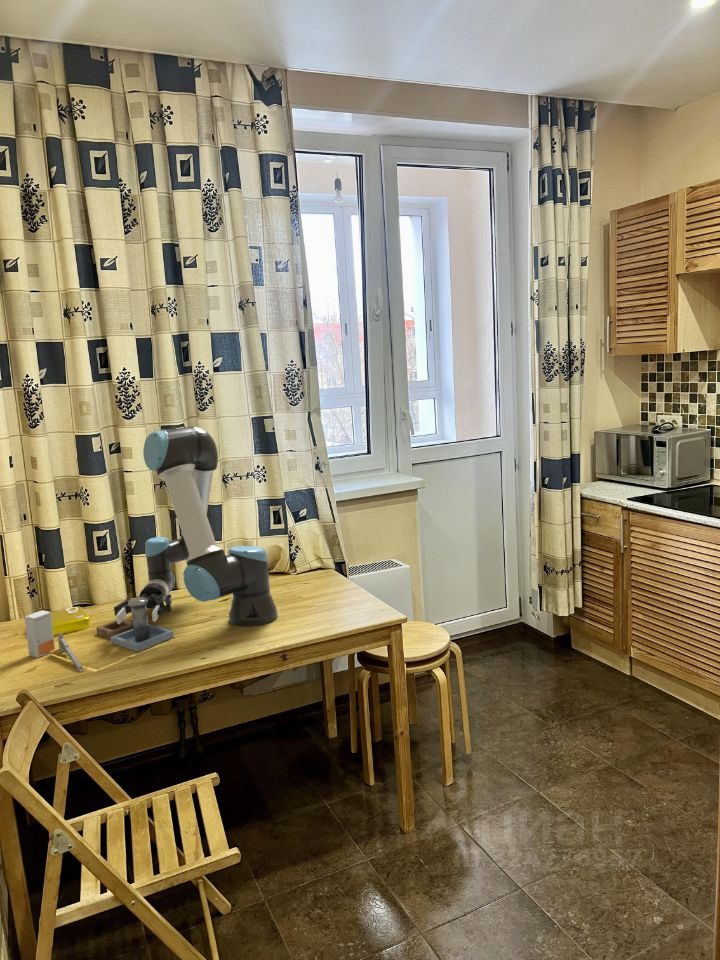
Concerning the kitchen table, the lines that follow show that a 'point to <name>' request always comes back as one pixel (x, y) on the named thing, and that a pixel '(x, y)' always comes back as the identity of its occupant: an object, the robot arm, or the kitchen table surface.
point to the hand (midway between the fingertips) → (135, 618)
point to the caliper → (68, 652)
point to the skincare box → (39, 633)
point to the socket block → (114, 628)
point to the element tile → (69, 620)
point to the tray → (129, 642)
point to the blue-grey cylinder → (140, 618)
